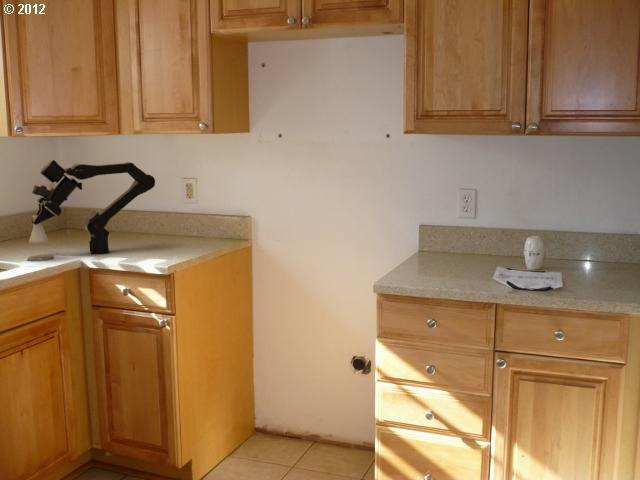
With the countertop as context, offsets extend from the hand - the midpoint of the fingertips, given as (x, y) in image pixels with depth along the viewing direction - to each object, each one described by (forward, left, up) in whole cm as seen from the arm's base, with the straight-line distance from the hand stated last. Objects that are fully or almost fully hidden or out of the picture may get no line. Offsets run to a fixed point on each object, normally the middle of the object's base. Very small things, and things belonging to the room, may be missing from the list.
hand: (33, 223), depth 260 cm
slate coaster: (-1, 0, -13) cm, 13 cm away
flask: (-1, 0, -7) cm, 8 cm away
